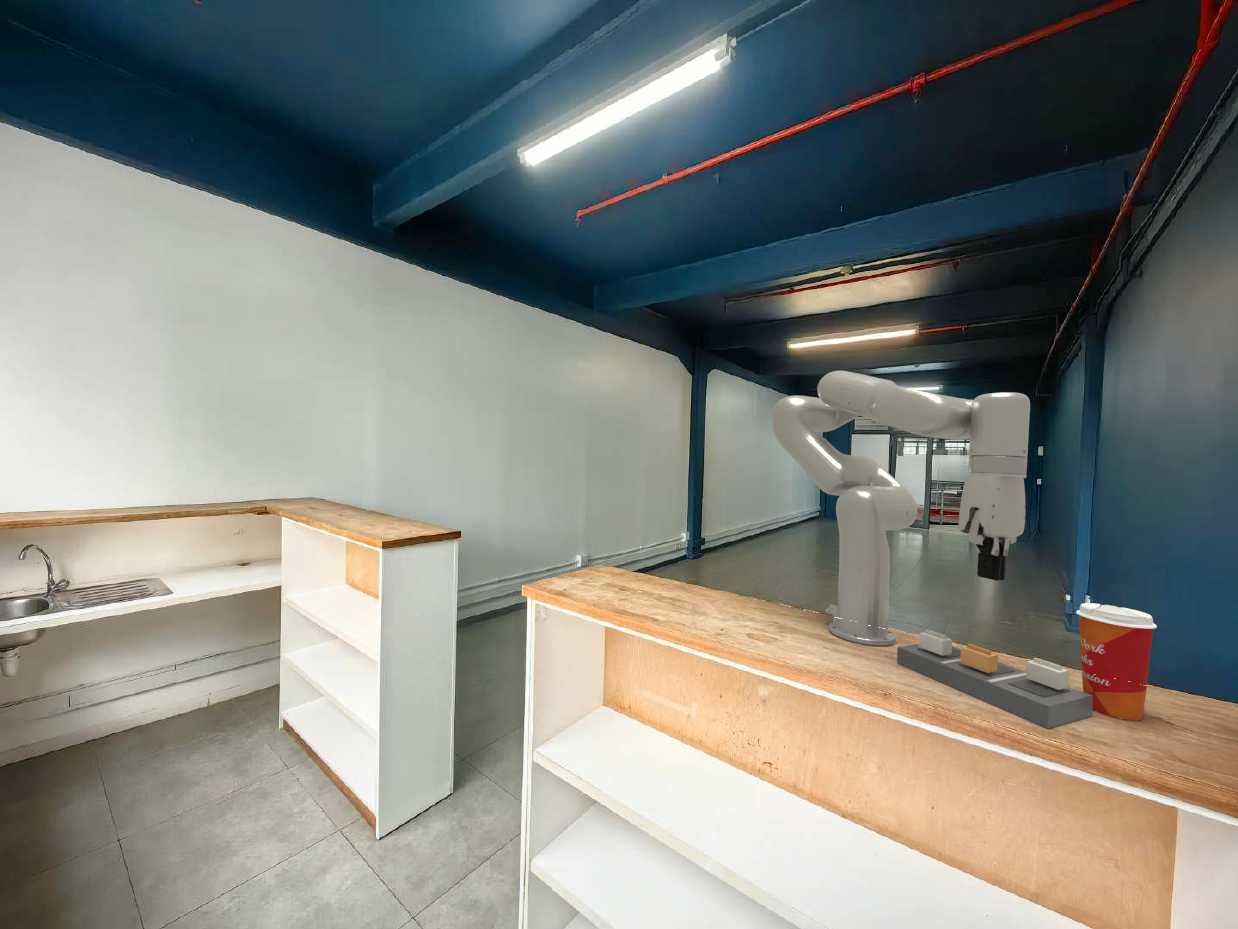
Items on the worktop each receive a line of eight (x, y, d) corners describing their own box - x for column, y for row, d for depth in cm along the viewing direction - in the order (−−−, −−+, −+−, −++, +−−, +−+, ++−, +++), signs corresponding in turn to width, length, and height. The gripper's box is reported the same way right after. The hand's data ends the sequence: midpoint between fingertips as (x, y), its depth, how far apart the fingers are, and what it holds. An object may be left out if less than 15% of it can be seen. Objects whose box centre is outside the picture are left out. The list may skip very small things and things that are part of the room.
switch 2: (960, 662, 76) (960, 643, 76) (970, 661, 77) (970, 642, 77) (987, 673, 72) (988, 653, 72) (997, 671, 73) (998, 651, 73)
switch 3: (1025, 678, 71) (1026, 657, 71) (1035, 676, 72) (1036, 656, 72) (1058, 690, 67) (1059, 668, 67) (1068, 687, 68) (1069, 666, 68)
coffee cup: (1070, 691, 75) (1073, 598, 75) (1146, 710, 69) (1149, 610, 70) (1077, 711, 68) (1080, 609, 68) (1162, 733, 63) (1165, 622, 63)
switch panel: (897, 663, 83) (897, 646, 83) (937, 657, 87) (938, 640, 87) (1048, 728, 63) (1048, 705, 63) (1092, 716, 67) (1092, 694, 67)
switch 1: (919, 647, 82) (919, 629, 82) (928, 645, 83) (929, 628, 83) (941, 655, 78) (942, 637, 79) (951, 654, 79) (952, 636, 79)
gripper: (999, 469, 83) (993, 571, 83) (943, 465, 77) (937, 574, 77) (1050, 470, 76) (1044, 582, 76) (993, 466, 70) (987, 586, 70)
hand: (990, 578), depth 77 cm, fingers closed
